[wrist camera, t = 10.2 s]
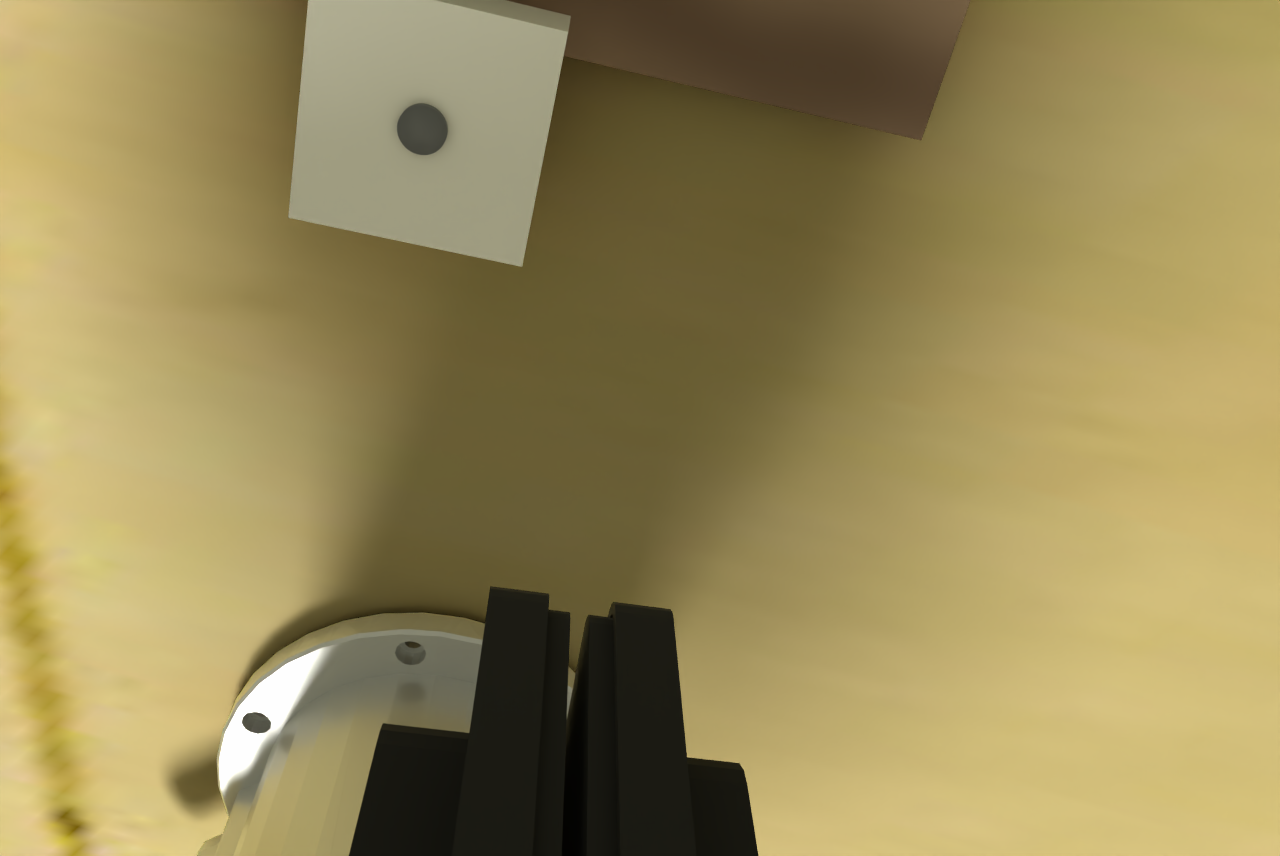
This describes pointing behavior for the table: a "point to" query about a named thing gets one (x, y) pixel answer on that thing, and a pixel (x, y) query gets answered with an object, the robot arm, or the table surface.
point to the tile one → (426, 120)
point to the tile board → (781, 51)
